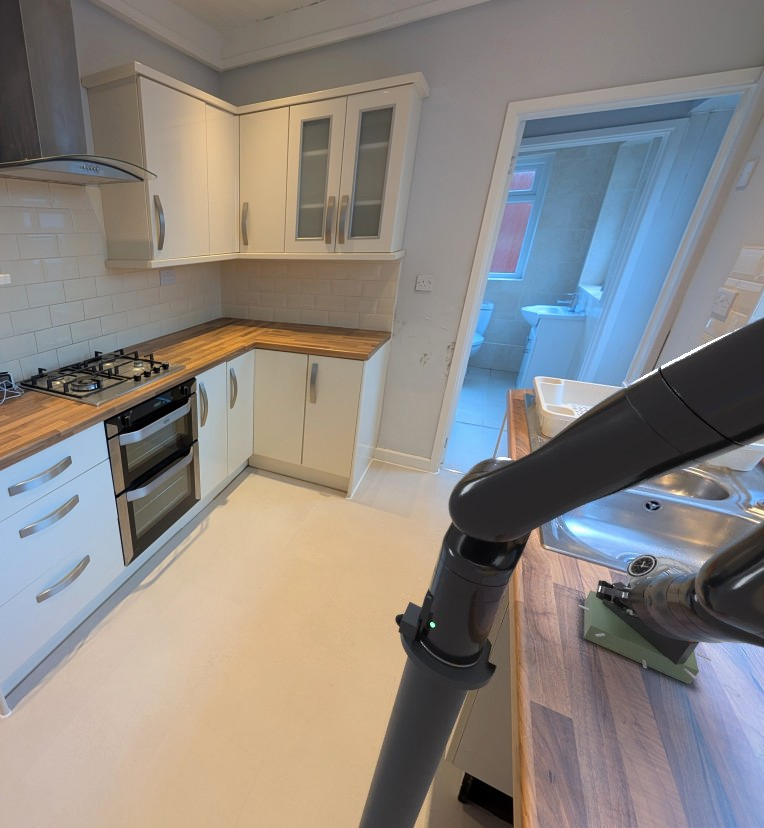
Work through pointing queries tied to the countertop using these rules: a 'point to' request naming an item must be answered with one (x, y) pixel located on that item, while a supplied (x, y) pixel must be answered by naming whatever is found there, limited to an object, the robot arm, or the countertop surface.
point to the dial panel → (630, 641)
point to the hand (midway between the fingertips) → (628, 608)
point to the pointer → (657, 636)
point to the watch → (651, 568)
